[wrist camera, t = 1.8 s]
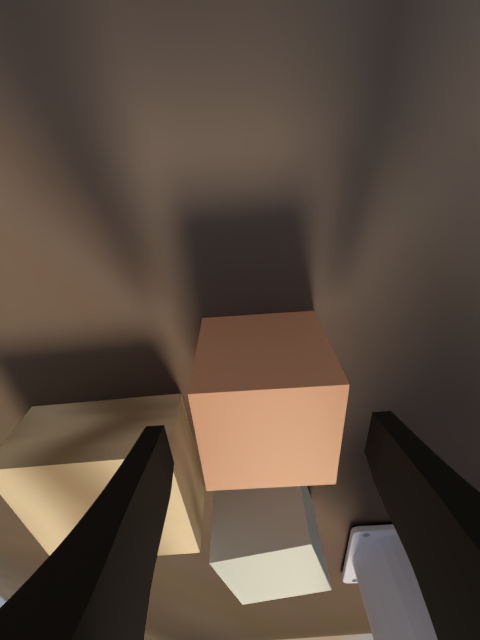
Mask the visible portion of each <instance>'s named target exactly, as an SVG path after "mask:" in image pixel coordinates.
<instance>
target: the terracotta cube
mask: <svg viewBox="0 0 480 640" xmlns="http://www.w3.org/2000/svg"><path fill="white" fill-rule="evenodd" d="M349 385H350V384H349V382H348V380H347V378H346V376H345V374H344V372H343V370H342V368H341V366H340V364H339V362H338V360H337V357H336V355H335V353H334V351H333V349H332V347H331V345H330V343H329V341H328V339H327V337H326V335H325V333H324V331H323V329H322V326H321V324H320V322H319V320H318V318H317V316H316V314H315V312H314V311H301V312H286V313H271V314H256V315H240V316H225V317H210V318H202V322H201V328H200V333H199V338H198V343H197V348H196V354H195V359H194V364H193V369H192V374H191V380H190V385H189V390H188V398H189V404H190V409H191V414H192V419H193V424H194V429H195V434H196V439H197V444H198V449H199V454H200V459H201V464H202V469H203V474H204V480H205V485H206V490H207V491H217V490H236V489H254V488H273V487H292V486H310V485H329V484H336V479H337V471H338V464H339V457H340V450H341V443H342V436H343V428H344V421H345V414H346V407H347V400H348V393H349Z"/></svg>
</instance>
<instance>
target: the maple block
mask: <svg viewBox="0 0 480 640" xmlns="http://www.w3.org/2000/svg"><path fill="white" fill-rule="evenodd" d="M157 425H164V426H165V430H166V434H167V438H168V441H169V445H170V449H171V453H172V456H173V460H174V470H173V480H172V488H171V495H170V500H169V505H168V509H167V514H166V518H165V523H164V527H163V532H162V536H161V541H160V545H159V550H158V554H157V556H159V555H173V554H187V553H200V544H201V532H202V520H203V509H204V497H205V483H204V479H203V476H202V472H201V468H200V464H199V460H198V456H197V452H196V448H195V444H194V440H193V437H192V433H191V429H190V425H189V421H188V417H187V413H186V409H185V405H184V401H183V397H182V394H170V395H158V396H147V397H135V398H124V399H113V400H101V401H90V402H78V403H67V404H56V405H44V406H33V407H31V408H30V410H29V411H28V412H27V414H26V415H25V416H24V417H23V419H22V420H21V421H20V422H19V424H18V425H17V426H16V428H15V429H14V430H13V431H12V433H11V434H10V435H9V437H8V438H7V439H6V440H5V442H4V443H3V444H2V445H1V447H0V494H1V496H2V497H3V498H4V499H5V501H6V502H7V503H8V504H9V506H10V507H11V508H12V509H13V511H14V512H15V513H16V514H17V516H18V517H19V518H20V519H21V521H22V522H23V523H24V524H25V526H26V527H27V528H28V529H29V531H30V532H31V533H32V534H33V536H34V537H35V538H36V539H37V541H38V542H39V543H40V544H41V546H42V547H43V548H44V549H45V551H46V552H47V553H48V554H49V556H50V555H51V554H52V553H53V552H54V551H55V549H56V548H57V547H58V546H59V545H60V544H61V542H62V541H63V540H64V539H65V538H66V537H67V535H68V534H69V533H70V532H71V531H72V529H73V528H74V527H75V526H76V524H77V523H78V522H79V521H80V520H81V518H82V517H83V516H84V514H85V513H86V512H87V511H88V509H89V508H90V507H91V505H92V504H93V503H94V501H95V500H96V499H97V497H98V496H99V495H100V494H101V492H102V491H103V489H104V488H105V487H106V485H107V484H108V483H109V481H110V480H111V478H112V477H113V475H114V474H115V473H116V471H117V470H118V468H119V467H120V465H121V464H122V462H123V461H124V459H125V458H126V456H127V455H128V453H129V452H130V450H131V449H132V447H133V446H134V444H135V443H136V441H137V439H138V438H139V436H140V435H141V433H142V431H143V430H144V428H145V427H146V426H157Z"/></svg>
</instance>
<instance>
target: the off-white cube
mask: <svg viewBox="0 0 480 640" xmlns="http://www.w3.org/2000/svg"><path fill="white" fill-rule="evenodd" d="M209 564H210V565H211V566H212V567H213V569H214V570H215V571H216V572H217V574H218V575H219V576H220V577H221V579H222V580H223V581H224V582H225V583H226V585H227V586H228V587H229V588H230V590H231V591H232V592H233V593H234V595H235V596H236V597H237V598H238V600H239V601H240V602H241V603H242V605H244V604H250V603H256V602H262V601H268V600H274V599H280V598H286V597H292V596H299V595H305V594H311V593H317V592H323V591H329V590H332V589H331V585H330V580H329V576H328V571H327V567H326V562H325V557H324V553H323V548H322V544H321V539H320V535H319V530H318V525H317V521H316V516H315V512H314V507H313V503H312V498H311V496H310V493H309V490H308V488H307V486H292V487H273V488H254V489H236V490H217V491H214V495H213V511H212V527H211V544H210V560H209Z"/></svg>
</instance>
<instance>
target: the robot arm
mask: <svg viewBox="0 0 480 640" xmlns="http://www.w3.org/2000/svg"><path fill="white" fill-rule="evenodd" d="M365 455H366V458H367V461H368V464H369V467H370V471H371V474H372V477H373V479H374V482H375V485H376V487H377V489H378V492H379V494H380V496H381V498H382V501H383V503H384V505H385V507H386V510H387V512H388V514H389V516H390V518H391V521H392V523H393V524H390V525H371V526H356V527H353V528H352V529H351V532H350V537H349V542H348V547H347V552H346V557H345V562H344V567H343V572H342V579H343V582H344V583H358V586H359V589H360V593H361V596H362V600H363V603H364V607H365V610H366V614H367V617H368V621H369V624H370V628H371V631H372V635H373V638H374V640H480V492H478V491H477V490H476V489H475V488H474V487H472V486H471V485H470V484H469V483H468V482H467V481H465V480H464V479H463V478H462V477H461V476H460V475H458V474H457V473H456V472H455V471H454V470H453V469H452V468H451V467H449V466H448V465H447V464H446V463H445V462H444V461H443V460H442V459H441V458H439V457H438V456H437V455H436V454H435V453H434V452H433V451H432V450H431V449H430V448H429V447H428V446H426V445H425V444H424V443H423V442H422V441H421V440H420V439H419V438H418V437H417V436H416V435H415V434H414V433H413V432H412V431H411V430H410V429H409V428H408V427H407V426H406V425H405V424H403V423H402V422H401V421H400V420H399V419H398V418H397V417H396V416H395V415H394V414H393V413H392V412H391V411H385V412H373V413H372V418H371V422H370V427H369V432H368V437H367V442H366V447H365ZM173 470H174V460H173V456H172V453H171V449H170V445H169V441H168V438H167V434H166V430H165V426H164V425H157V426H146V427H145V428H144V430H143V431H142V433H141V435H140V436H139V438H138V439H137V441H136V443H135V444H134V446H133V447H132V449H131V450H130V452H129V453H128V455H127V456H126V458H125V459H124V461H123V462H122V464H121V465H120V467H119V468H118V470H117V471H116V473H115V474H114V475H113V477H112V478H111V480H110V481H109V483H108V484H107V485H106V487H105V488H104V489H103V491H102V492H101V494H100V495H99V496H98V497H97V499H96V500H95V501H94V503H93V504H92V505H91V507H90V508H89V509H88V511H87V512H86V513H85V514H84V516H83V517H82V518H81V520H80V521H79V522H78V523H77V524H76V526H75V527H74V528H73V529H72V531H71V532H70V533H69V534H68V535H67V537H66V538H65V539H64V540H63V541H62V542H61V544H60V545H59V546H58V547H57V548H56V549H55V551H54V552H53V553H52V554H51V555H50V556H49V557H48V558H47V559H46V560H45V562H44V563H43V564H42V565H41V566H40V567H39V568H38V569H37V570H36V571H35V573H34V574H33V575H32V576H31V577H30V578H29V579H28V580H27V581H26V582H25V583H24V584H23V585H22V586H21V587H20V588H19V590H18V591H17V592H16V593H15V594H14V595H13V596H12V597H11V598H10V599H9V600H8V601H7V602H6V603H5V604H4V605H3V606H2V607H1V608H0V640H144V632H145V625H146V618H147V610H148V603H149V596H150V589H151V583H152V578H153V573H154V568H155V563H156V559H157V554H158V550H159V545H160V541H161V536H162V532H163V527H164V523H165V518H166V514H167V509H168V505H169V500H170V495H171V488H172V480H173Z"/></svg>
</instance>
